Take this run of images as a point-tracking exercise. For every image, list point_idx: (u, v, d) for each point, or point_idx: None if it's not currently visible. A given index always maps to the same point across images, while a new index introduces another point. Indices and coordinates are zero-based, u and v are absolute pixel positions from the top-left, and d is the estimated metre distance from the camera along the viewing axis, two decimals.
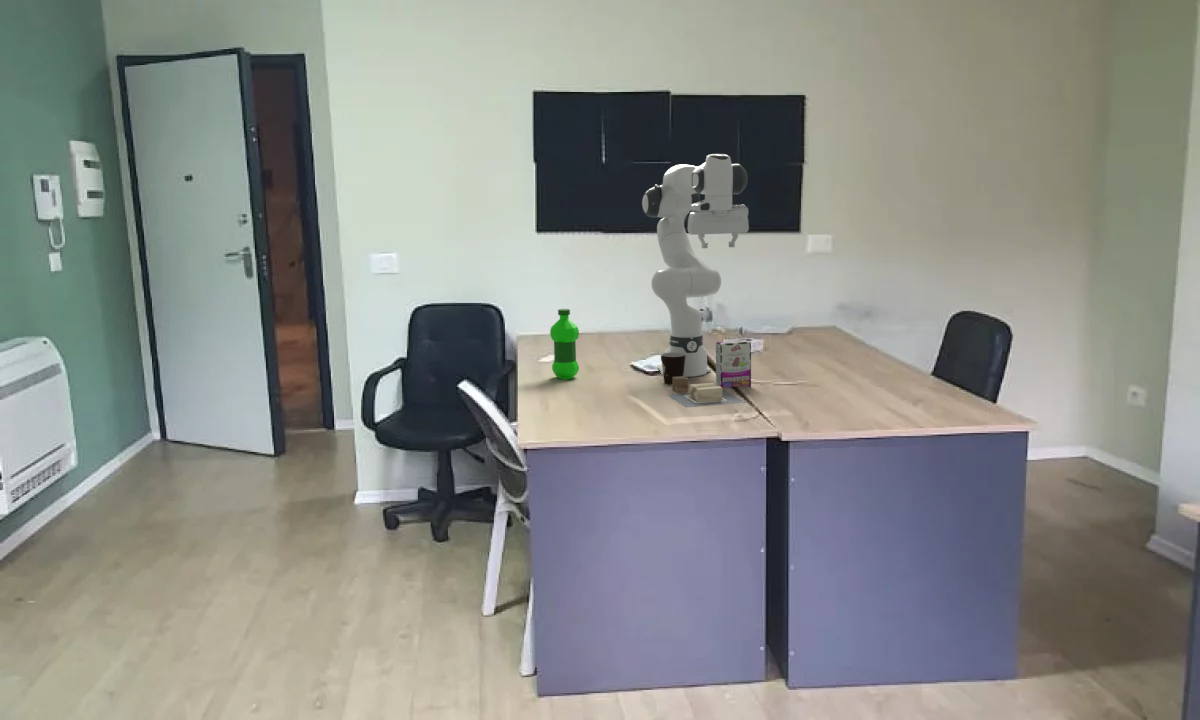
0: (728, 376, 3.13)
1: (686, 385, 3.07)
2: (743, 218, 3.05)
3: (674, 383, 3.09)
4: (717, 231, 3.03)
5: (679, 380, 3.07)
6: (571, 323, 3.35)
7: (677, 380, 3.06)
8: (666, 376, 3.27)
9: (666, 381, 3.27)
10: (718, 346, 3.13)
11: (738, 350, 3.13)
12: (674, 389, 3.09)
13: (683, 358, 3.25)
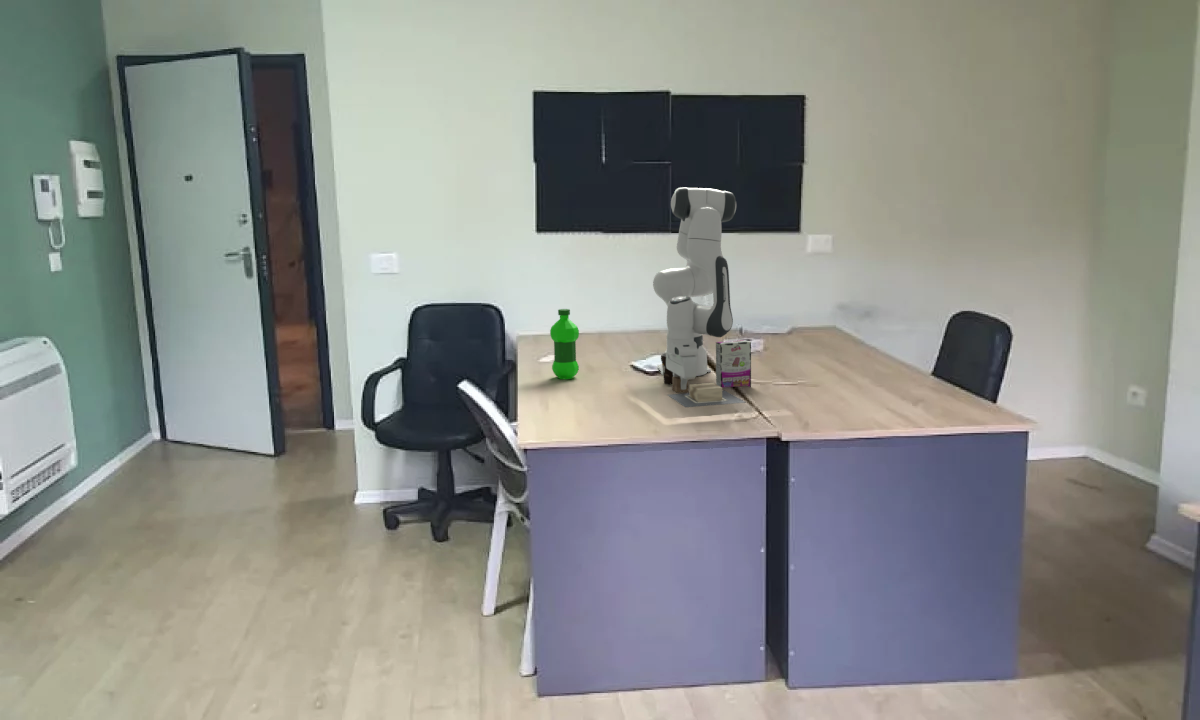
0: (728, 376, 3.13)
1: (686, 385, 3.07)
2: None
3: (674, 383, 3.09)
4: None
5: (679, 380, 3.06)
6: (571, 323, 3.35)
7: (677, 380, 3.06)
8: (666, 376, 3.27)
9: (666, 381, 3.27)
10: (718, 346, 3.13)
11: (738, 350, 3.13)
12: (674, 389, 3.09)
13: None
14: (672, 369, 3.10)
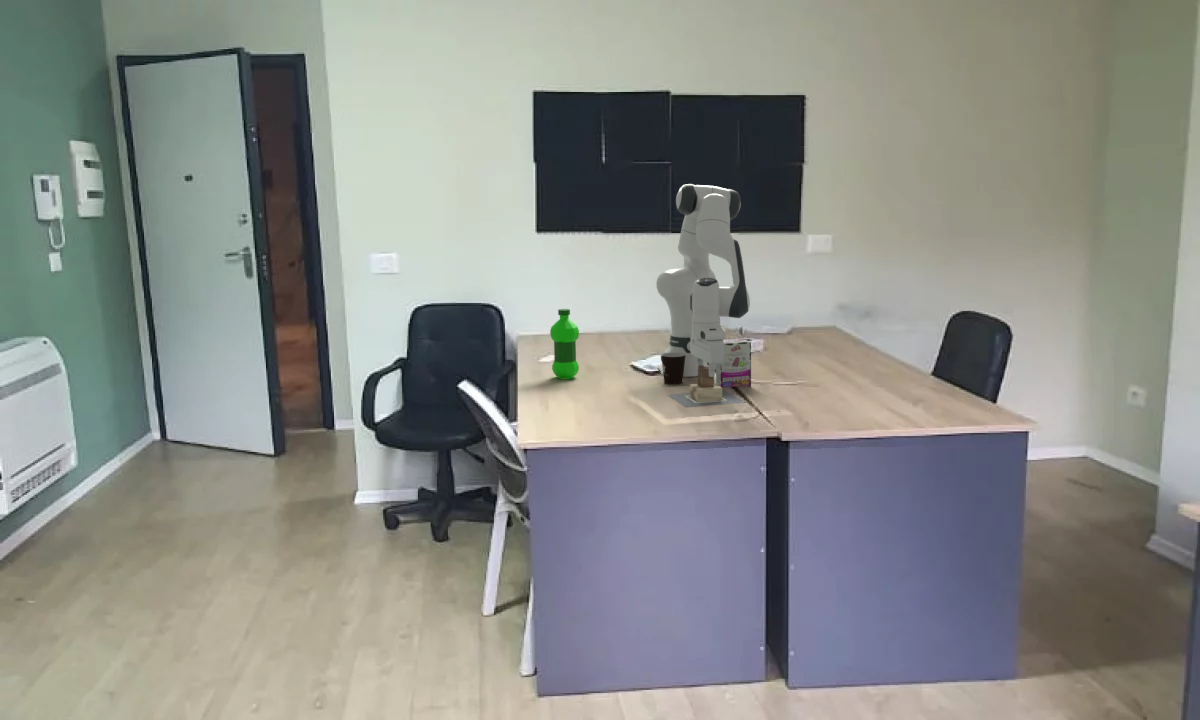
0: (728, 376, 3.13)
1: None
2: None
3: (699, 374, 2.96)
4: None
5: (705, 370, 2.94)
6: (571, 323, 3.35)
7: (703, 370, 2.94)
8: (666, 376, 3.27)
9: (666, 381, 3.27)
10: None
11: (738, 350, 3.13)
12: (699, 379, 2.96)
13: (683, 358, 3.25)
14: (697, 354, 2.98)
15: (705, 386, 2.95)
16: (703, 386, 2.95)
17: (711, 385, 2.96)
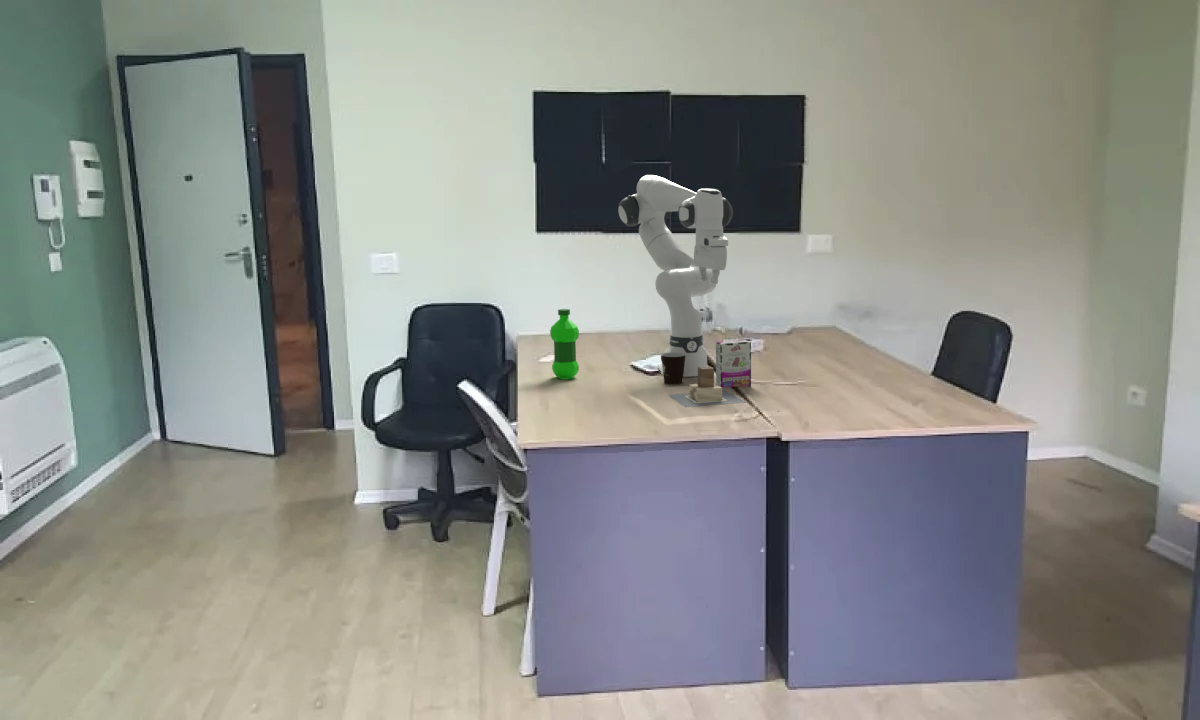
0: (728, 376, 3.13)
1: (712, 375, 2.95)
2: None
3: (699, 374, 2.96)
4: None
5: (705, 370, 2.94)
6: (571, 323, 3.35)
7: (703, 370, 2.94)
8: (666, 376, 3.27)
9: (666, 381, 3.27)
10: (718, 346, 3.13)
11: (738, 350, 3.13)
12: (699, 379, 2.96)
13: (683, 358, 3.25)
14: (701, 264, 3.06)
15: (705, 386, 2.95)
16: (703, 386, 2.95)
17: (711, 385, 2.96)
